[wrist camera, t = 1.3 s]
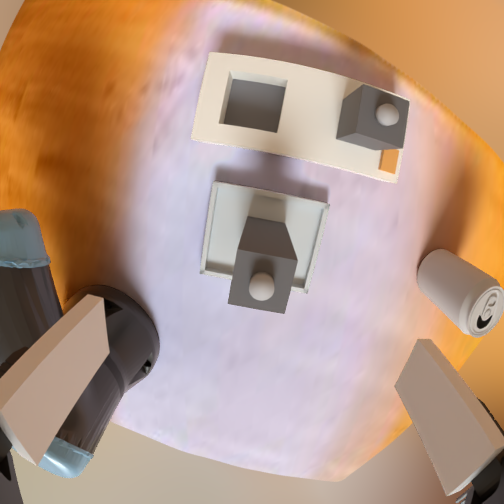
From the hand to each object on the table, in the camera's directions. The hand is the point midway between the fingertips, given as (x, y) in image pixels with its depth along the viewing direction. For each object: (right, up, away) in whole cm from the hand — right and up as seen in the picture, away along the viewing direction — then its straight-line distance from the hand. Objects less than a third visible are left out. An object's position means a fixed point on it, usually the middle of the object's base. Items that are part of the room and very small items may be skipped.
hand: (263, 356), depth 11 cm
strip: (+5, +18, +17) cm, 25 cm away
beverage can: (+23, +2, +21) cm, 31 cm away
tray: (+1, +6, +21) cm, 21 cm away
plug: (+1, +5, +20) cm, 21 cm away
